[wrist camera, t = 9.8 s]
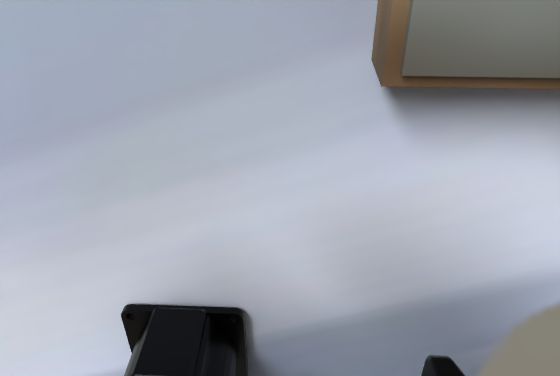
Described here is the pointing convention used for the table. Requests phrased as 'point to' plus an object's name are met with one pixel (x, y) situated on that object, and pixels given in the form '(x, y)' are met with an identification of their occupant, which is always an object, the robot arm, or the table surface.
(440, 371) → the robot arm
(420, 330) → the table surface
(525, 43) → the wooden framed mirror
